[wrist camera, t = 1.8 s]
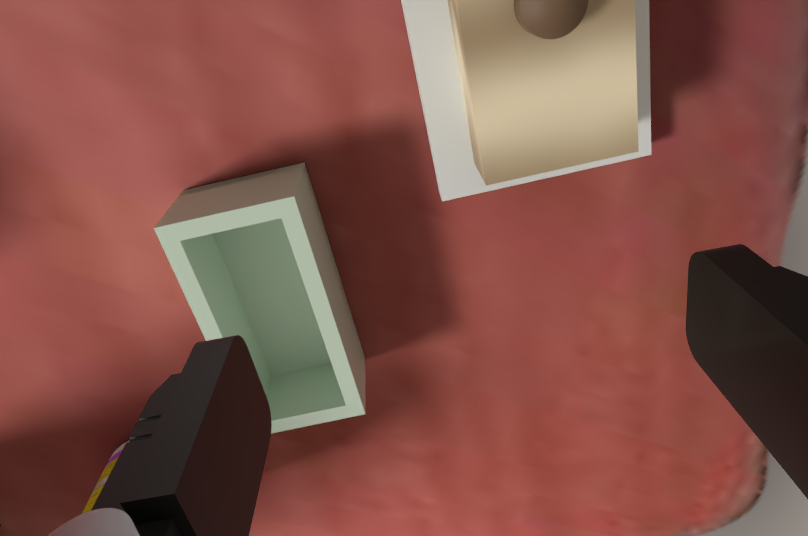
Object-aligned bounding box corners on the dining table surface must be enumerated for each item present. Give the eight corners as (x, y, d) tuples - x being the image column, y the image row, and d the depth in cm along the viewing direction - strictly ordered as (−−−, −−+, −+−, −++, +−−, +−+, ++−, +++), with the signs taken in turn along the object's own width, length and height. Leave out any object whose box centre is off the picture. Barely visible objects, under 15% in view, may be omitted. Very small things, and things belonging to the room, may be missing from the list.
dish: (183, 190, 28) (153, 228, 24) (304, 162, 28) (293, 196, 24) (264, 381, 34) (250, 437, 30) (365, 360, 33) (365, 414, 29)
